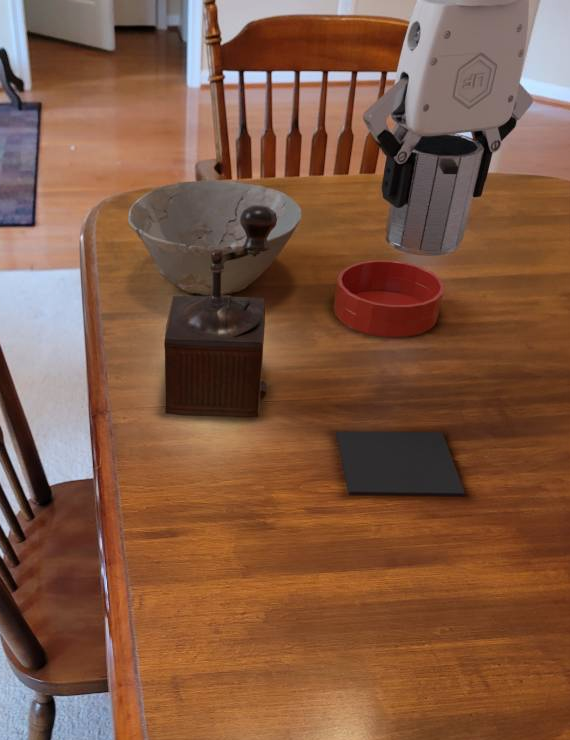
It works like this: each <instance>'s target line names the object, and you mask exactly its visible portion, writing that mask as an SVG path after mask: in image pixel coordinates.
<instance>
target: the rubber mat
mask: <svg viewBox="0 0 570 740" xmlns="http://www.w3.org/2000/svg"><path fill="white" fill-rule="evenodd" d="M335 435H336V440H337V445H338V450H339V455H340V459H341V464H342V469H343V474H344V479H345V485H346V488H347V493H348V495H349V496H396V497H397V496H402V497H404V496H405V497H465V495H466V492H465V488H464V487H463V483H462V481H461V479H460V476H459V473H458V471H457V470H458V469H457V468H456V465H455V462H454V460H453V457H452V454H451V451H450V448H449V446H448V444H447V440H446V437H445V435H444V433H443V432H439V431H438V432H433V431H430V432H429V431H428V432H426V431H425V432H424V431H415V432H414V431H356V430H355V431H348V430H347V431H346V430H345V431H344V430H343V431H342V430H337V431H336V434H335Z"/></svg>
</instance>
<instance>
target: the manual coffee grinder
mask: <svg viewBox="0 0 570 740" xmlns="http://www.w3.org/2000/svg"><path fill="white" fill-rule="evenodd" d="M276 223H277V217H276V213H275V212H274V211H273V210H271V209H270V208H269V207H267V206H262V205H253V206H250V207H249V208H247V209H245V210H244V211H243V212H242V214H241V216H240V224H241V225H242V227H243V229H244V230H245V233H246V236H247V238H246V241H245V244H244V245H243V249H244V250H241V251H236V252H230V253H224V254H223V253H222V251H220V250H215V251H213V252H212V253H211V255H210V258H211V261H212V263H211V264H210V267H211V268H210V272H212V295H173V296H172V298H171V299H172V300H171V304H170V308H169V312H168V315H167V320H166V323H165V334H164V342H163V343H164V344H163V345H164V346H163V347H164V373H165V374H164V376H165V377H164V378H165V380H164V383H165V386H164V387H165V408H164V414H168V415H178V416H193V417H194V416H195V417H197V416H198V417H218V418H219V417H220V418H243V419H246V418H247V419H249V418H251V419H252V418H259V417H260V411H261V404H262V401H263V398H264V397H265V396H266V394H267V383H266V382H265V381H262V378H263V377H262V376H263V359H264V344H265V343H264V342H265V328H266V326H265V325H266V306H265V305H266V304H265V298H264V297H253V296H252V297H249V296H231V294H224V295H221V273H222V272H223V271H224V265H223V263H224V262H226V261H229V260H235V259H239V258H242V257H245V256H247V255H252V256H254V257H255V256H256V255H257V254H260V252H262V251H267V250H269V246H268V242H267V237H268V235H269V234H270V232H271V231H272V229H273V228H274V227H275V226H276Z"/></svg>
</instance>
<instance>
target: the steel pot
mask: <svg viewBox="0 0 570 740" xmlns="http://www.w3.org/2000/svg"><path fill="white" fill-rule="evenodd" d="M483 150H484V147H483V146H482V144H481V143H480V142H479V141H478V140H475V139H473V137H470V136H467V135H464V134H461V133H457V134H448V135H439V136H422V137H421V139H420V140H419V142H418V143H417V145H416V146H415V148H414V149H413V151H412V153H411V154H410V156H409V157H408V159H407V161H408V162H409V163H411V165H412V169H411V175H410V180H409V186H408V191H407V197H406V202H405V205H404V206H403V207H401V208H396V207H395V206H393V205H392V204H390V203H389V207H388V213H387V214H388V215H387V220H386V221H387V222H386V226H385V240H386V243H387V244H388V245H389V246H390V247H392V248H394V249H395V250H397V251H400V252H403V253H406V254H411V255H417V256H426V257H427V256H428V257H429V256H430V257H434V256H444V255H448V254H451V253H454V252H455V251H457V250H458V249H459V248H460V246H461V243H462V241H463V239H464V235H465V230H466V227H467V222H468V219H469V214H470V209H471V205H472V200H473V198H474V197H473V193H474V188H475V184H476V180H477V176H478V171H479V167H480V163H481V158H482V154H483Z"/></svg>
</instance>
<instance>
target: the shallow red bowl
mask: <svg viewBox="0 0 570 740" xmlns="http://www.w3.org/2000/svg"><path fill="white" fill-rule="evenodd" d="M445 287H446V286H445V284H444V282H443V280H442V279H441V278H440V277H439V276H438V275H436V273H434V272H433V271H431V270H429V269H426V268H424V267H423V266H421V265H416V264H413V263H410V262H404V261H397V260H390V259H389V260H388V259H387V260H385V259H383V260H382V259H378V260H377V259H373V260H367V261H366V260H365V261H360V262H356V263H354V264H351V265H348V266H347V267H345V268H344V269H343V270H341V271H340V272H339V275H338V277H337V280H336V287H335V294H334V302H333V312H334V315H335V317H336V318H337V320H339V322H341V323H342V324H343V325H345V326H347V328H350V329H352V330H353V331H354V330H355V331H357V332H359V333H363V334H366V335H370V336H375V337H381V338H407V337H414V336H417V335H421V334H424V333H426V332H428V331H430V330H431V329H432V328H433V327H434V326H435V325H436V324H437V321H438V317H439V313H440V310H441V305H442V301H443V300H442V299H443V296H444V292H445Z"/></svg>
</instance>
